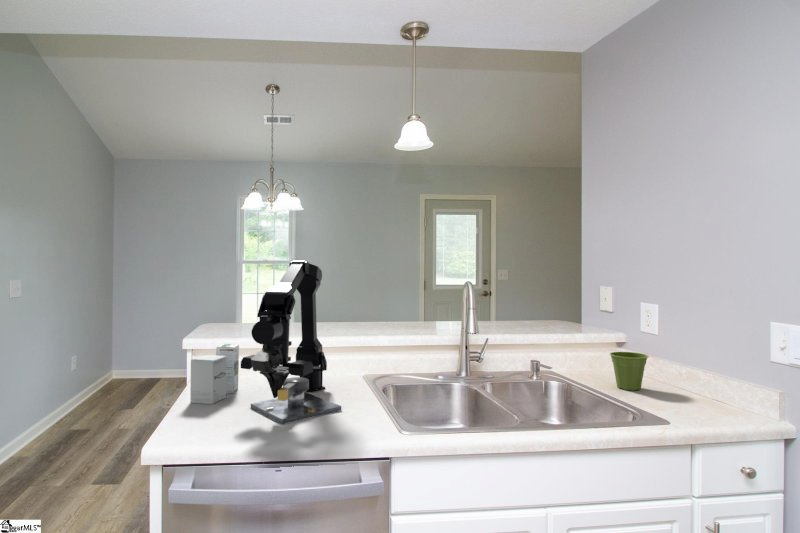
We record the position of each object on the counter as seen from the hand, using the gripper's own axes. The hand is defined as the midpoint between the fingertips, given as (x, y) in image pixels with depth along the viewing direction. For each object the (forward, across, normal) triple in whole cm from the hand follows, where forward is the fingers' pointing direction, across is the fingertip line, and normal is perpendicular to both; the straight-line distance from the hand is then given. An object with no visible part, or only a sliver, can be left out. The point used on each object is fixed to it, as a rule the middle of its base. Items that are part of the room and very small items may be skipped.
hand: (275, 397), depth 128 cm
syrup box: (+6, -28, +17) cm, 34 cm away
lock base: (+5, +1, +8) cm, 10 cm away
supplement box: (+6, -27, +7) cm, 29 cm away
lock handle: (0, +2, +5) cm, 5 cm away
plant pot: (+2, +91, +68) cm, 114 cm away
